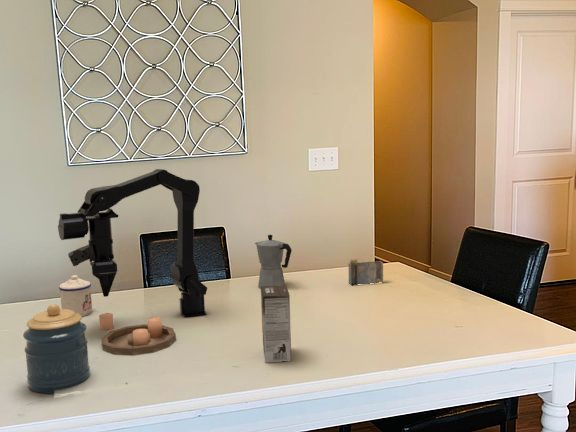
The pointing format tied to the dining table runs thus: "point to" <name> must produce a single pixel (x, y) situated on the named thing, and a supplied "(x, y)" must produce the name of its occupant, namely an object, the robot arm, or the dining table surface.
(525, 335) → the dining table surface
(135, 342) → the bead
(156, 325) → the bead
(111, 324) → the bead
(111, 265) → the robot arm
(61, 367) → the canister
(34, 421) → the dining table surface
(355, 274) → the grey spool block
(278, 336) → the coffee box
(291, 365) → the dining table surface
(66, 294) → the white lidded jar
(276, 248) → the coffeepot
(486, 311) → the dining table surface
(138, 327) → the groove tray
